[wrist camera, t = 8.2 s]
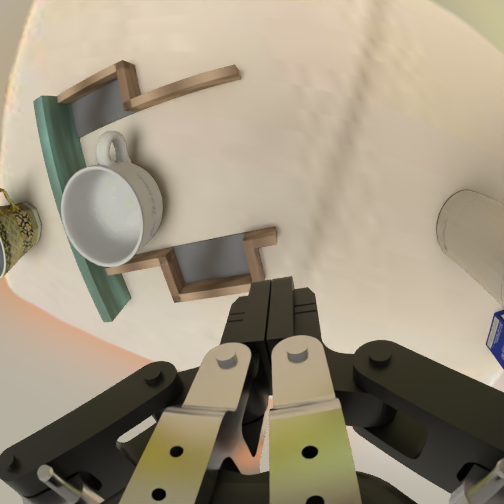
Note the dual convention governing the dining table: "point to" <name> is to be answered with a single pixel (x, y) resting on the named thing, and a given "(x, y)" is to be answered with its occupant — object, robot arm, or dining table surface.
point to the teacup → (111, 206)
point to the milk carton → (497, 337)
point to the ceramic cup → (16, 232)
